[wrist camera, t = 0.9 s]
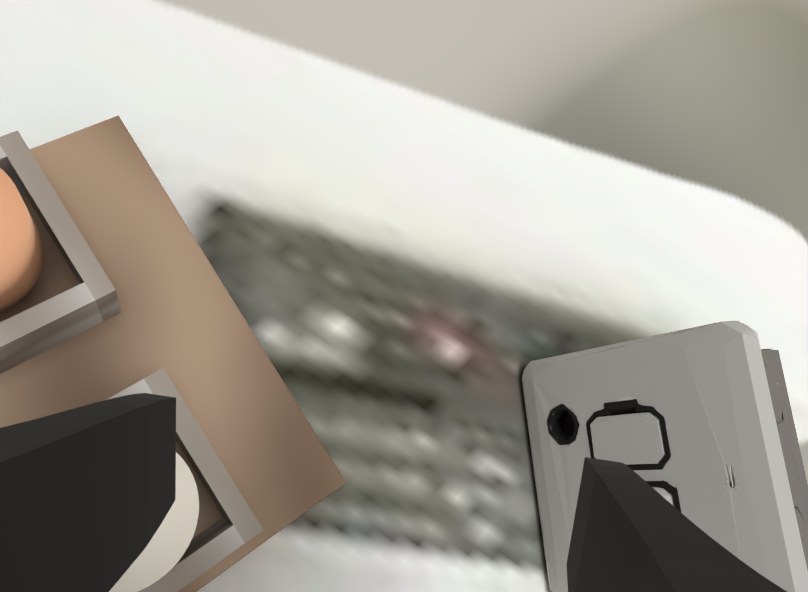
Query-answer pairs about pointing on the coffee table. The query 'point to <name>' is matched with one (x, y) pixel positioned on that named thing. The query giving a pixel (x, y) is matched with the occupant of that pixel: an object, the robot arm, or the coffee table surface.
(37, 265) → the plug terracotta
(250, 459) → the panel
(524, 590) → the coffee table surface
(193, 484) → the plug cream
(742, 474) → the electrical switch
